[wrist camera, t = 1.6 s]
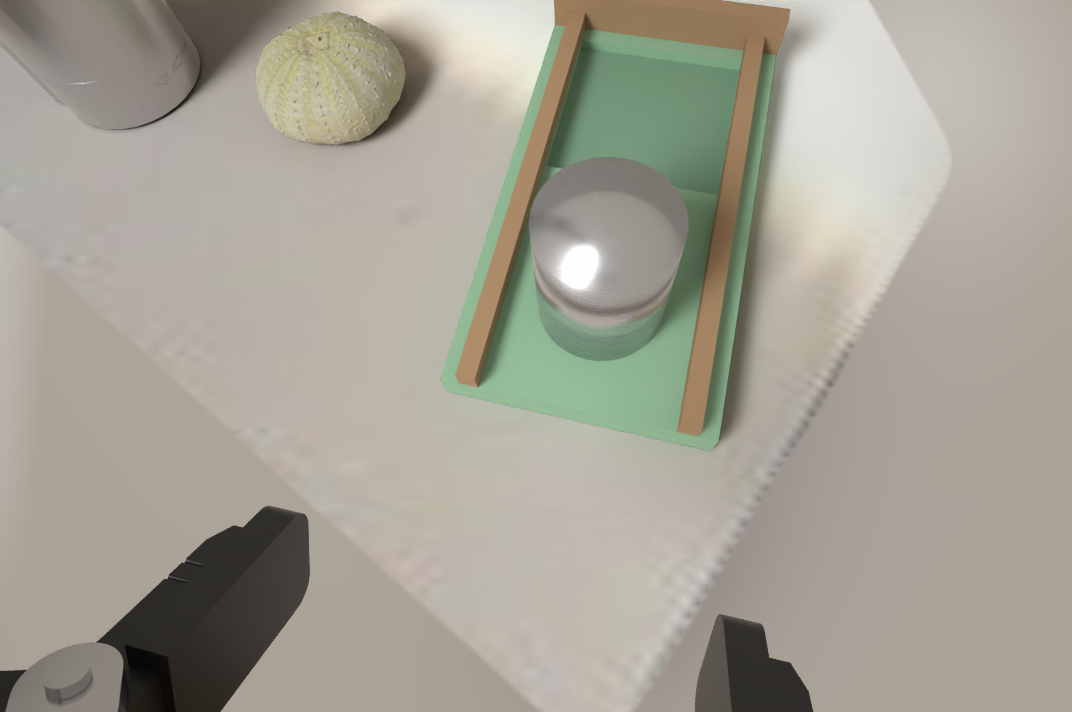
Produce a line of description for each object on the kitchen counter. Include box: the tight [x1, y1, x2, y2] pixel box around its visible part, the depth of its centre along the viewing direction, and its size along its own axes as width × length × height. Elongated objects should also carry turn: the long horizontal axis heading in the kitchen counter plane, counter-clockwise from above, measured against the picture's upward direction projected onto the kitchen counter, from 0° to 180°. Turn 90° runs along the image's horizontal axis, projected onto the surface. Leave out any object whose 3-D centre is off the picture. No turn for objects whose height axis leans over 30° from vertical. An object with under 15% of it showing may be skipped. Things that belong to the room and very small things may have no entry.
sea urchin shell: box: [255, 11, 406, 145], centre depth 40 cm, size 9×8×8 cm
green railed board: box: [441, 0, 790, 451], centre depth 36 cm, size 14×26×4 cm, turn 166°
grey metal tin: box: [529, 157, 689, 361], centre depth 30 cm, size 7×7×8 cm
